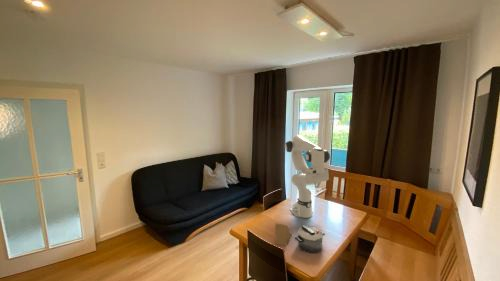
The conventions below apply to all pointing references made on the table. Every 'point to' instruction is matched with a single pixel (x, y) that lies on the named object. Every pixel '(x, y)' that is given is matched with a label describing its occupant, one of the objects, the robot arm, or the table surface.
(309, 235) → the lid
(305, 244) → the cooker pot
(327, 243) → the table surface
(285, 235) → the sandwich container
